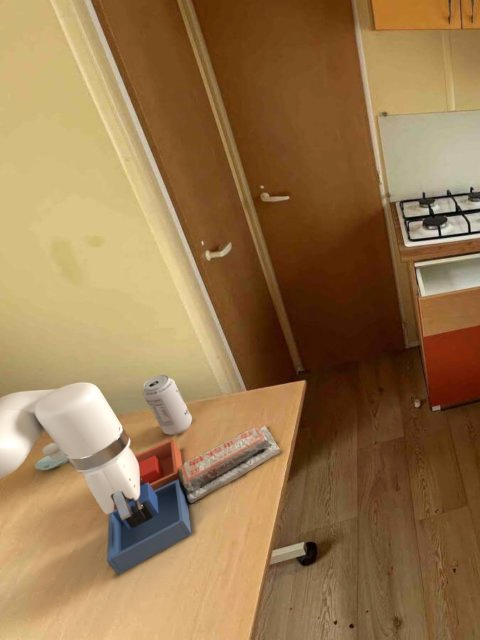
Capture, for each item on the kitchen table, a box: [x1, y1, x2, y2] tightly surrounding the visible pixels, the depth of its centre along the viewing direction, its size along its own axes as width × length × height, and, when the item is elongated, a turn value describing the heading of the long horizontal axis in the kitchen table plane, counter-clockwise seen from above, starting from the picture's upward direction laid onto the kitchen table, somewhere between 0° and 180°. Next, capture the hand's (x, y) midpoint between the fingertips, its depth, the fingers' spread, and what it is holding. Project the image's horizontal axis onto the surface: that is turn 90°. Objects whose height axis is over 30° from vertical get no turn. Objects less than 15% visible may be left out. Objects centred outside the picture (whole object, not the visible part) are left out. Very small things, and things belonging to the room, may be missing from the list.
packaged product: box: [179, 425, 280, 504], centre depth 96 cm, size 18×5×10 cm
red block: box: [138, 456, 164, 484], centre depth 91 cm, size 4×4×4 cm
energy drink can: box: [142, 374, 193, 436], centre depth 103 cm, size 6×6×15 cm
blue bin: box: [106, 479, 192, 575], centre depth 83 cm, size 11×11×4 cm
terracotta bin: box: [114, 438, 184, 510], centre depth 92 cm, size 11×11×4 cm
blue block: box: [118, 482, 158, 529], centre depth 80 cm, size 4×4×4 cm
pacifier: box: [34, 442, 69, 471], centre depth 96 cm, size 7×6×6 cm
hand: (141, 510), depth 81 cm, fingers closed on blue block, 4 cm apart
